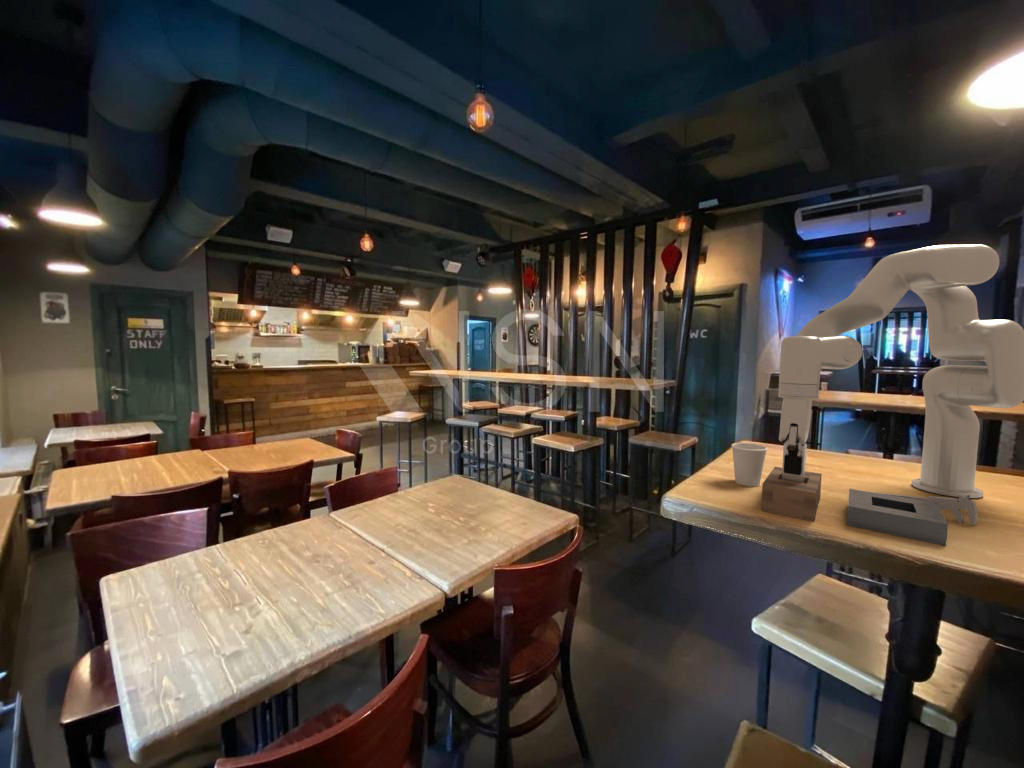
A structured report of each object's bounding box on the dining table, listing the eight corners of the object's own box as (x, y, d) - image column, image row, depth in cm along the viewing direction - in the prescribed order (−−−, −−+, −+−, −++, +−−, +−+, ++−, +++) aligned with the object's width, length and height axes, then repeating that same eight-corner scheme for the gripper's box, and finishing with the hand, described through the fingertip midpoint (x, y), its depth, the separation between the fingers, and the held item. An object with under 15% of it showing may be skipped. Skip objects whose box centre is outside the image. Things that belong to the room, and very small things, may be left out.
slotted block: (773, 489, 106) (774, 466, 106) (820, 498, 100) (821, 473, 100) (761, 510, 92) (762, 483, 92) (814, 521, 86) (815, 493, 86)
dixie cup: (736, 487, 108) (738, 449, 108) (725, 477, 117) (726, 442, 116) (771, 489, 107) (773, 450, 106) (757, 479, 115) (759, 443, 115)
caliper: (976, 527, 85) (979, 496, 85) (974, 527, 85) (976, 497, 84) (859, 495, 104) (860, 470, 103) (856, 495, 103) (858, 470, 103)
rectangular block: (782, 499, 99) (786, 441, 98) (803, 503, 97) (806, 443, 96) (780, 504, 96) (783, 444, 95) (801, 508, 94) (805, 446, 93)
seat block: (848, 505, 96) (849, 488, 95) (934, 521, 87) (936, 502, 86) (846, 525, 85) (848, 505, 84) (946, 545, 76) (947, 524, 76)
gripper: (783, 388, 103) (779, 460, 105) (773, 393, 90) (768, 476, 92) (821, 390, 99) (816, 466, 100) (816, 395, 86) (810, 483, 87)
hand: (793, 470), depth 96 cm, fingers open, 5 cm apart
